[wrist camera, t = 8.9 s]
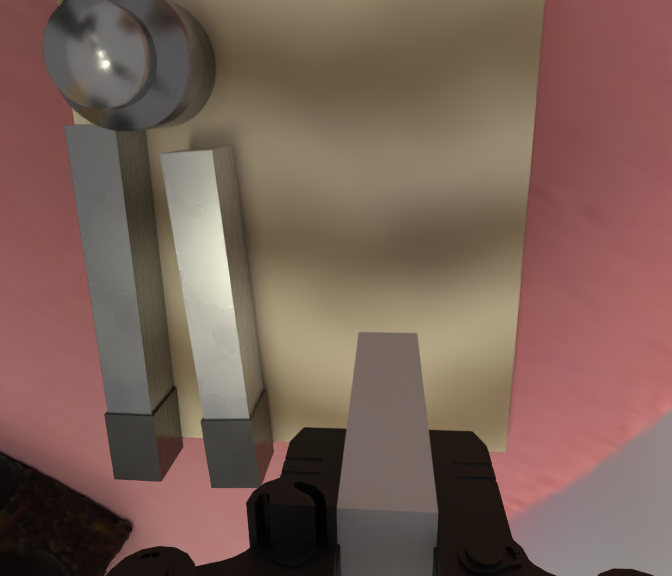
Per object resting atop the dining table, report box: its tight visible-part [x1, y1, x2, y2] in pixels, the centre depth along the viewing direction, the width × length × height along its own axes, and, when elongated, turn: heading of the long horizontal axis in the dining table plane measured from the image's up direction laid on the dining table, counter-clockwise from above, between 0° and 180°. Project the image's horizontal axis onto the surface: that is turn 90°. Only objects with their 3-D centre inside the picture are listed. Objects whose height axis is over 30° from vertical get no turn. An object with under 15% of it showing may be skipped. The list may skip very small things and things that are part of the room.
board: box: [56, 0, 545, 452], centre depth 23 cm, size 19×17×1 cm
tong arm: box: [43, 0, 274, 488], centre depth 20 cm, size 18×4×4 cm, turn 5°
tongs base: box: [58, 0, 216, 482], centre depth 21 cm, size 18×5×3 cm, turn 1°
